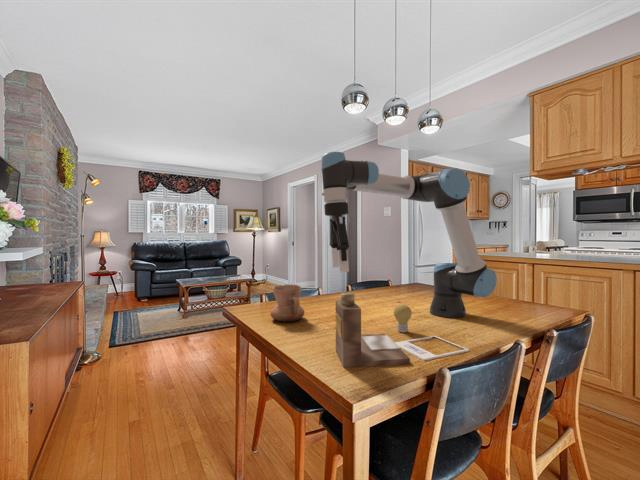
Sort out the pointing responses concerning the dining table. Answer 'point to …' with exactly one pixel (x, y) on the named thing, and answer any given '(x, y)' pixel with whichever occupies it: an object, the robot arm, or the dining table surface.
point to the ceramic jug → (287, 303)
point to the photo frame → (423, 353)
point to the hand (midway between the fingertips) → (340, 269)
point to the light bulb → (402, 317)
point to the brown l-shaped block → (362, 339)
